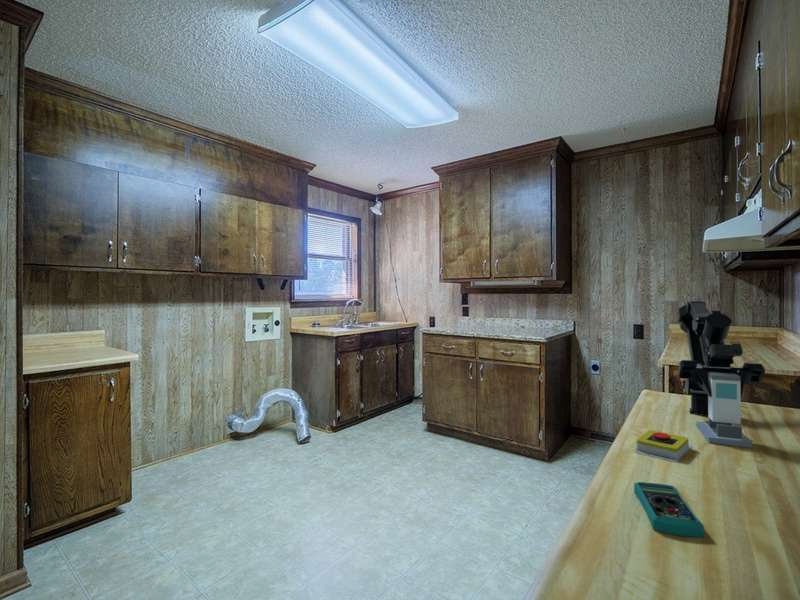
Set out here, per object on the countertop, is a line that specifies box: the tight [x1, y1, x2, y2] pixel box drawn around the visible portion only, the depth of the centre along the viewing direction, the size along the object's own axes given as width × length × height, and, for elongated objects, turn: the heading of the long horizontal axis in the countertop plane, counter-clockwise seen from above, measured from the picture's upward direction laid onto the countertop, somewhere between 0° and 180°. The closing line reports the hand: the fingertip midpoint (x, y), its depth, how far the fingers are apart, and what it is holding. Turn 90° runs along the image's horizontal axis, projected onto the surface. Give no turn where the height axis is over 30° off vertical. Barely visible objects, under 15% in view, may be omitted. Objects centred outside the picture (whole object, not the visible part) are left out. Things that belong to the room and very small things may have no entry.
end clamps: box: [708, 417, 743, 439], centre depth 110 cm, size 10×5×3 cm, turn 154°
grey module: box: [707, 372, 742, 425], centre depth 110 cm, size 5×6×12 cm
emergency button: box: [633, 429, 692, 463], centre depth 104 cm, size 9×4×15 cm
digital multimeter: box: [633, 481, 705, 538], centre depth 74 cm, size 7×15×3 cm, turn 162°
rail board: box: [695, 420, 753, 449], centre depth 112 cm, size 15×9×2 cm, turn 154°
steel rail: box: [703, 420, 742, 441], centre depth 112 cm, size 15×5×1 cm, turn 154°
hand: (725, 397), depth 109 cm, fingers closed on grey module, 6 cm apart
